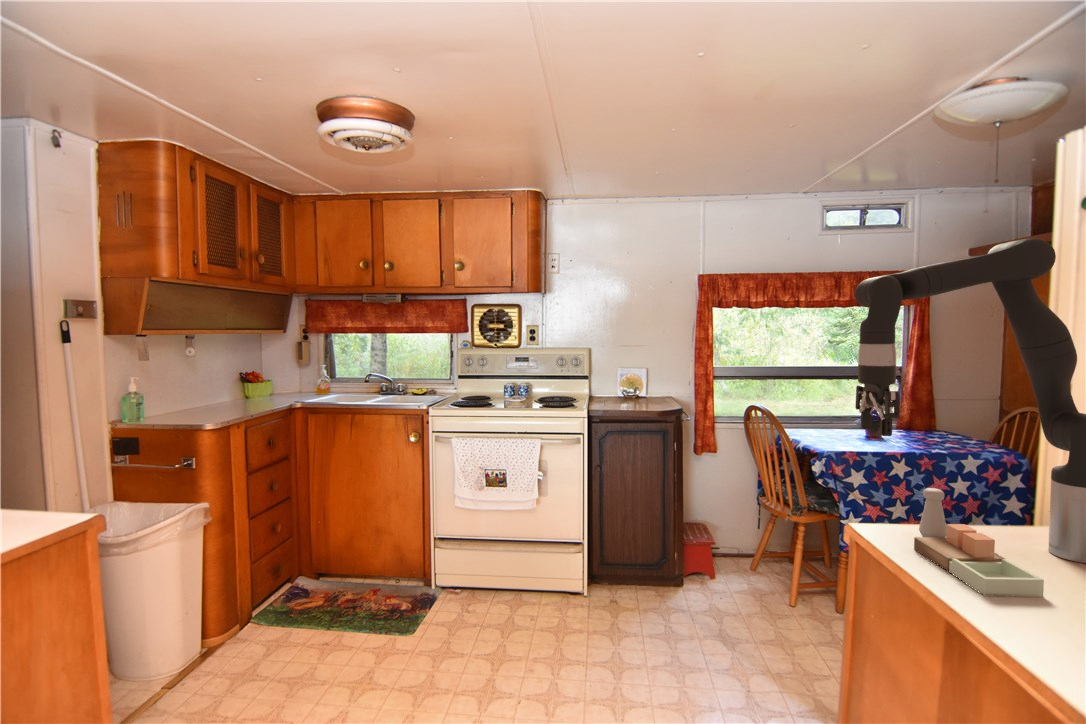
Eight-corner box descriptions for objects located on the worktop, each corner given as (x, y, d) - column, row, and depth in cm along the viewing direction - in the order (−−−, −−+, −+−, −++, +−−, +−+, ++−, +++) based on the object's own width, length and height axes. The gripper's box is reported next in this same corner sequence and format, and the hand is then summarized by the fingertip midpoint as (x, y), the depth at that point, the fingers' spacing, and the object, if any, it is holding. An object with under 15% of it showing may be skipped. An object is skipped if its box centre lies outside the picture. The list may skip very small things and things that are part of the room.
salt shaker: (938, 535, 139) (939, 486, 138) (952, 544, 133) (954, 492, 132) (913, 535, 140) (914, 485, 139) (927, 544, 134) (928, 492, 133)
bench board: (966, 549, 130) (966, 537, 130) (1005, 572, 118) (1005, 558, 118) (914, 549, 131) (914, 537, 131) (947, 571, 119) (947, 558, 119)
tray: (1002, 573, 118) (1002, 557, 118) (1043, 597, 107) (1043, 579, 107) (949, 572, 119) (949, 556, 118) (984, 596, 108) (985, 579, 108)
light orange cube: (963, 540, 128) (964, 524, 128) (976, 547, 124) (976, 530, 124) (946, 540, 128) (946, 524, 128) (957, 547, 124) (958, 530, 124)
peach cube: (980, 550, 123) (981, 532, 122) (994, 557, 119) (994, 539, 118) (962, 550, 123) (962, 532, 123) (975, 557, 119) (975, 539, 119)
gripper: (912, 365, 119) (910, 438, 120) (877, 361, 133) (876, 426, 134) (876, 365, 119) (875, 438, 120) (845, 361, 133) (844, 427, 134)
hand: (875, 432), depth 127 cm, fingers open, 8 cm apart
